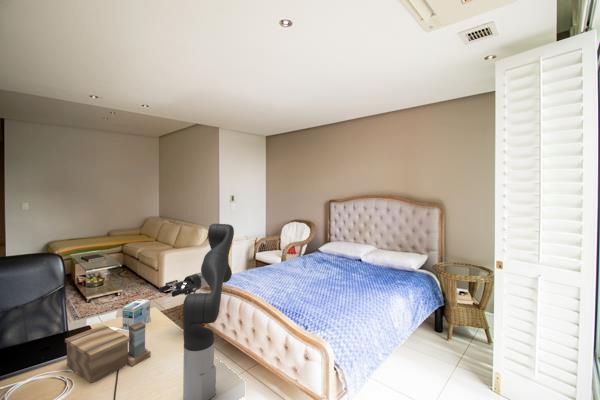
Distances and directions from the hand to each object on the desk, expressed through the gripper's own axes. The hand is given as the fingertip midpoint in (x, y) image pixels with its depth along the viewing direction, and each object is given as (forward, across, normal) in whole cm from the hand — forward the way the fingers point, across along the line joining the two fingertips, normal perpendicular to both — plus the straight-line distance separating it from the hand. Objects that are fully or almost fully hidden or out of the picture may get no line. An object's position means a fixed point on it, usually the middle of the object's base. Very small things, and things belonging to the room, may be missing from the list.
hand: (165, 292), depth 118 cm
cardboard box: (+19, -7, +22) cm, 30 cm away
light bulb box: (-3, -26, +23) cm, 35 cm away
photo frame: (+10, -23, +23) cm, 34 cm away
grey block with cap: (+12, 0, +22) cm, 25 cm away
